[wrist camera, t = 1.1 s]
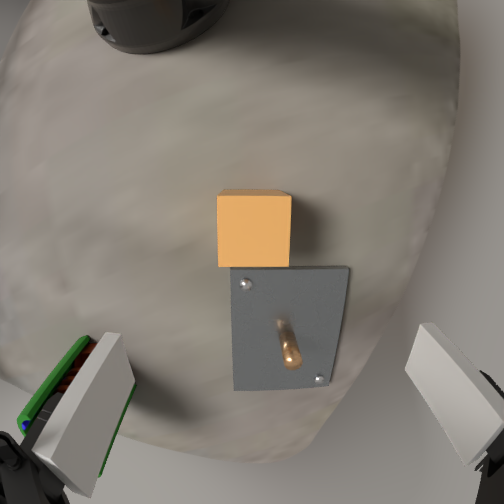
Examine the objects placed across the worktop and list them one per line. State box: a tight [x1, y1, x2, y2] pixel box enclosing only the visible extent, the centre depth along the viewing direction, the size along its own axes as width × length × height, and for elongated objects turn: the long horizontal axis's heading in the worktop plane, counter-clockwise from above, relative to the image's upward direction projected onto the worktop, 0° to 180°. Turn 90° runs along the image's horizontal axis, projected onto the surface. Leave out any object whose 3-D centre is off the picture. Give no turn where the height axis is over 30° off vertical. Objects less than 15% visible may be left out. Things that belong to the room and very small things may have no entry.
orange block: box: [217, 190, 291, 267], centre depth 23 cm, size 5×5×7 cm
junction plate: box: [230, 266, 349, 391], centre depth 28 cm, size 16×12×6 cm
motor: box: [17, 335, 137, 477], centre depth 22 cm, size 10×9×20 cm
